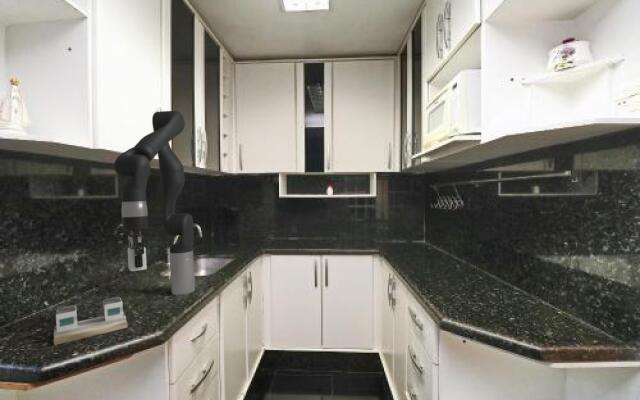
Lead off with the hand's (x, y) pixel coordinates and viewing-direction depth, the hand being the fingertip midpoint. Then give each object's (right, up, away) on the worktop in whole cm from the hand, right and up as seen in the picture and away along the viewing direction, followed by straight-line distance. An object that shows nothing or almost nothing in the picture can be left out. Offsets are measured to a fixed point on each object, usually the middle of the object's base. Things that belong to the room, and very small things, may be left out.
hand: (137, 265), depth 110 cm
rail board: (-10, -18, -7) cm, 22 cm away
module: (0, -1, 0) cm, 1 cm away
